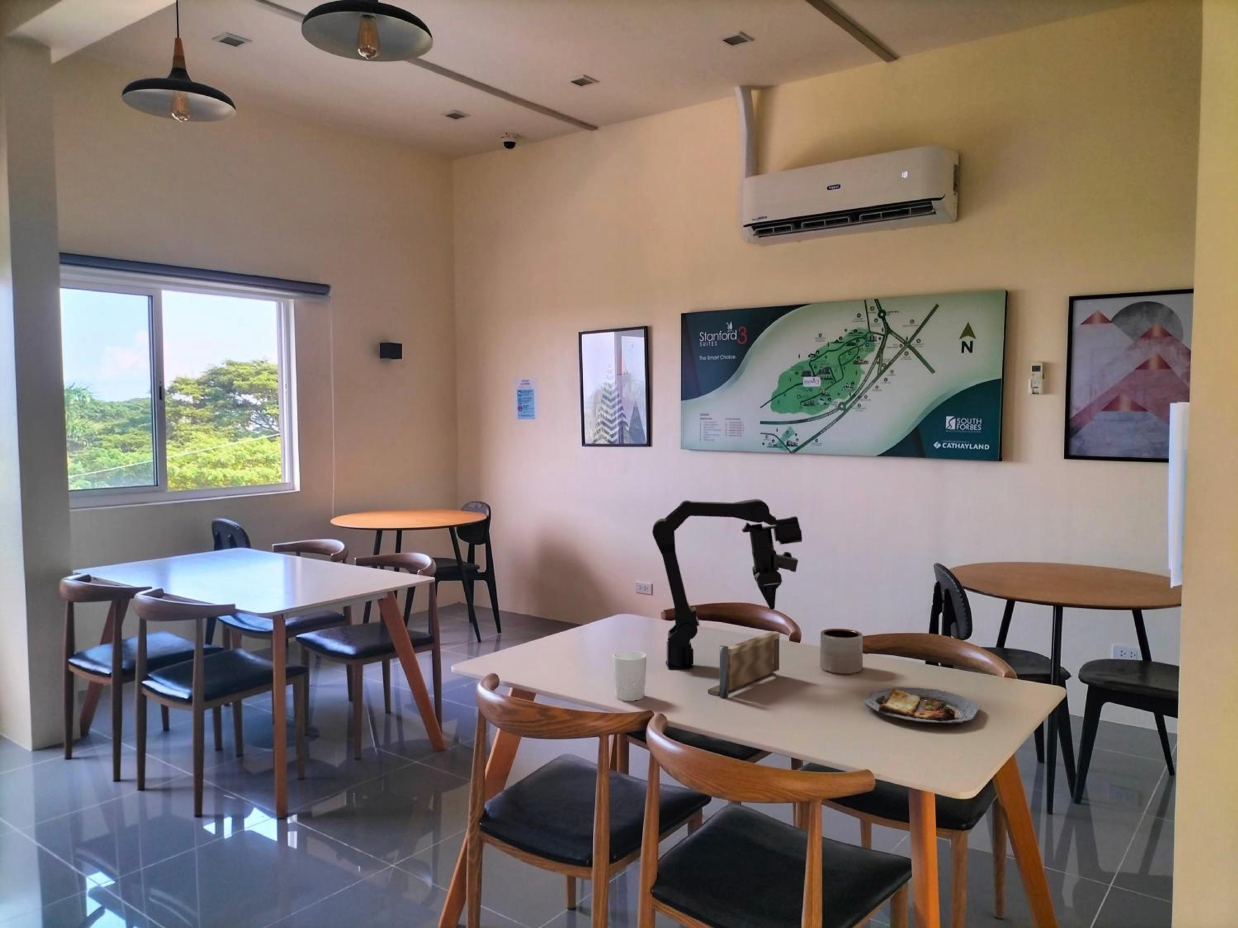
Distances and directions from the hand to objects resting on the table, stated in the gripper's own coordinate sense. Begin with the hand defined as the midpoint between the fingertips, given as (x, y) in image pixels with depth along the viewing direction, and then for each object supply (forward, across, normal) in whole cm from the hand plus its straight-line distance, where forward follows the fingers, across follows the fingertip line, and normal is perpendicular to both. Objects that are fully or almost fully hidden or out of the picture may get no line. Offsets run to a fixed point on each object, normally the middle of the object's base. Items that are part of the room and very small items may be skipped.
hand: (770, 605), depth 226 cm
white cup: (+12, -27, +37) cm, 48 cm away
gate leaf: (+14, -15, +8) cm, 22 cm away
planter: (+19, 0, -16) cm, 25 cm away
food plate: (+22, -32, -28) cm, 48 cm away
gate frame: (+16, -15, +10) cm, 24 cm away
